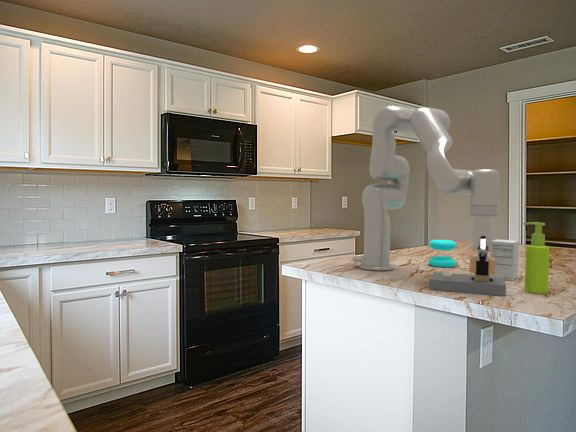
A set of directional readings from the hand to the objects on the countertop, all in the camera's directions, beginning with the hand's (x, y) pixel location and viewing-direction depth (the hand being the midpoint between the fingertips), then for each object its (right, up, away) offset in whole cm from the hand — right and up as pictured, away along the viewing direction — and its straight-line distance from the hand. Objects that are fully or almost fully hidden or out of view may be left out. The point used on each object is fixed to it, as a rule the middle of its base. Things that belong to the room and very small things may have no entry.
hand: (482, 272), depth 130 cm
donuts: (+4, -3, +44) cm, 45 cm away
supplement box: (+16, -4, +19) cm, 26 cm away
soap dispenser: (+14, -5, -2) cm, 15 cm away
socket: (-4, -5, +2) cm, 6 cm away
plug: (0, -3, 0) cm, 3 cm away
